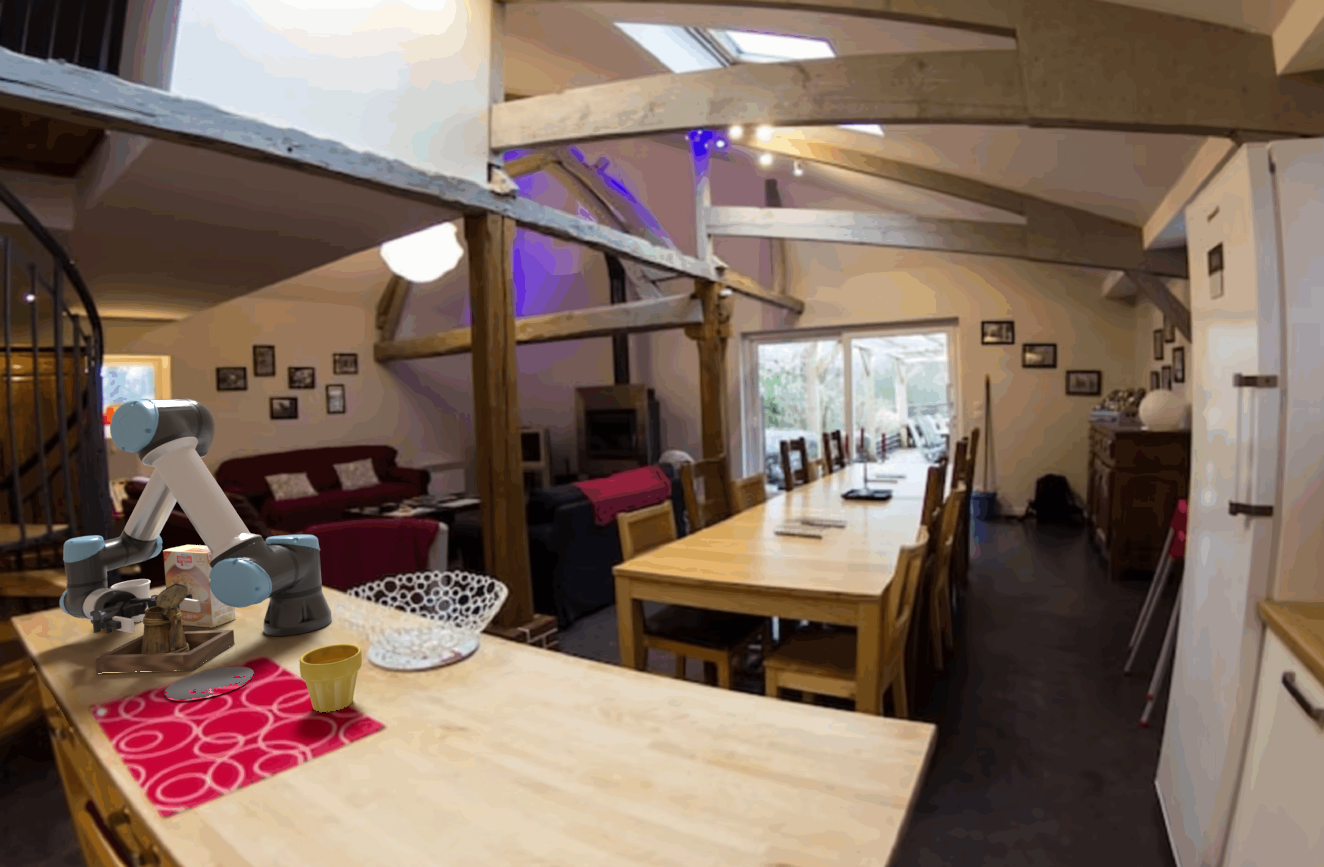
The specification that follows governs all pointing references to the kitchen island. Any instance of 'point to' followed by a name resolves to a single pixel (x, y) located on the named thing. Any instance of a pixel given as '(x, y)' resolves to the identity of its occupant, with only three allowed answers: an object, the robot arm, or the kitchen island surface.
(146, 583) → the dixie cup
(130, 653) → the frame
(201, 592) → the coffeecake box
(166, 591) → the wooden mug
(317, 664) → the plant pot
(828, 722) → the kitchen island surface
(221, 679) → the grey mat
